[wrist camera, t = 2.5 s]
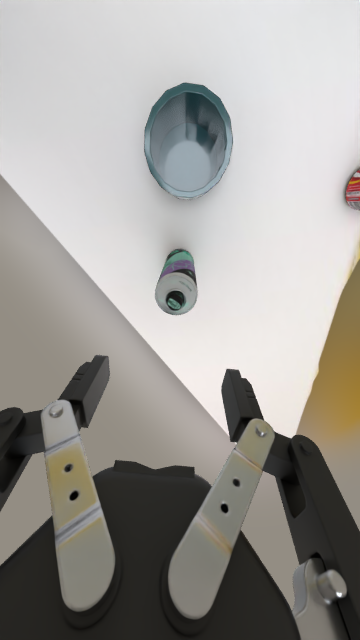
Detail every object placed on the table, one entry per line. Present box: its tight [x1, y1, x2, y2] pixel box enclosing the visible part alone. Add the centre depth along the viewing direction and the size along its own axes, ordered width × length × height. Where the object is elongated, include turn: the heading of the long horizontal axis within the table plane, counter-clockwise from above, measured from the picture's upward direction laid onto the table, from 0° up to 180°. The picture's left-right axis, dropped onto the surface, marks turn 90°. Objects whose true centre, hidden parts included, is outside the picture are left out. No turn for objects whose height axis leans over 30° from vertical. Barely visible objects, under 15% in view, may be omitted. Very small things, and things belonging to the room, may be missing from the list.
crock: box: [144, 83, 233, 200], centre depth 28 cm, size 10×10×10 cm
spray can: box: [155, 249, 198, 315], centre depth 32 cm, size 6×6×20 cm
